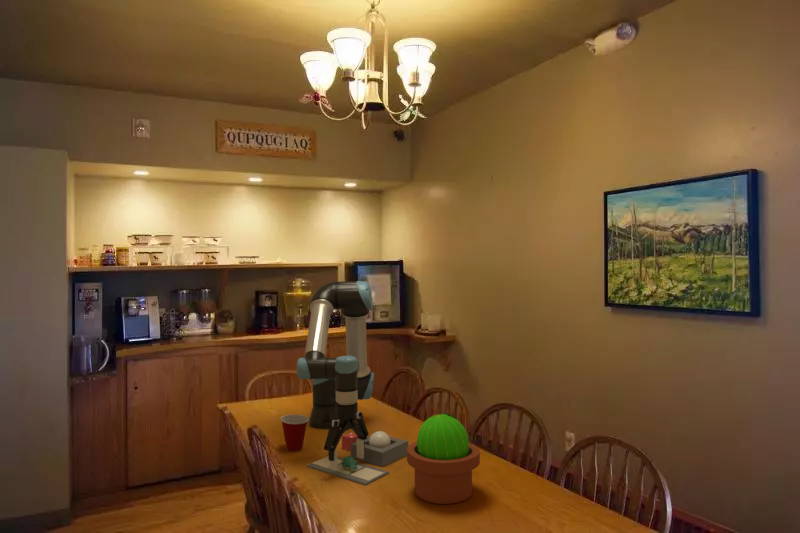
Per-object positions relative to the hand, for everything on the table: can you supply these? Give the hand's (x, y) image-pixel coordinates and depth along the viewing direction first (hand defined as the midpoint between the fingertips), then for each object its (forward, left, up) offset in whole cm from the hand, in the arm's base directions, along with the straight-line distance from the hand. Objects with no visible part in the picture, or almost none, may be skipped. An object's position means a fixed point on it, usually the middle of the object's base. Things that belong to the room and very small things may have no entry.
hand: (347, 463), depth 194 cm
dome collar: (-17, 0, -2) cm, 17 cm away
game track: (0, 0, -2) cm, 2 cm away
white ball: (-17, 0, -1) cm, 17 cm away
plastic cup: (-4, -31, -2) cm, 31 cm away
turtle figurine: (0, +1, -2) cm, 2 cm away
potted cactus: (-4, +36, -2) cm, 37 cm away
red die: (-17, -14, -2) cm, 22 cm away
